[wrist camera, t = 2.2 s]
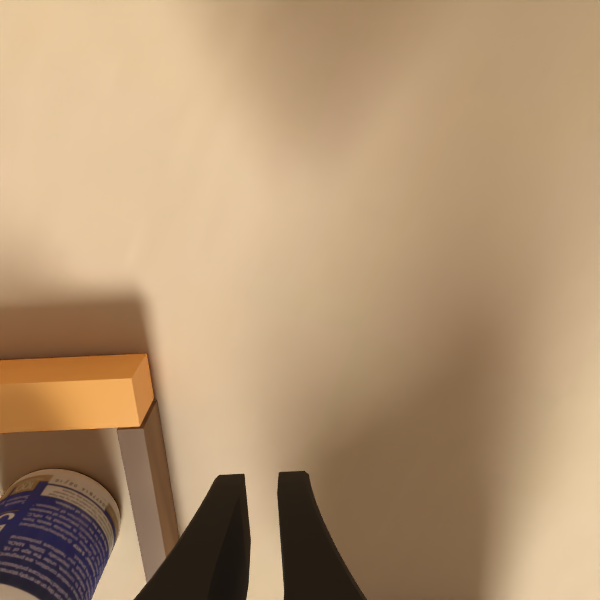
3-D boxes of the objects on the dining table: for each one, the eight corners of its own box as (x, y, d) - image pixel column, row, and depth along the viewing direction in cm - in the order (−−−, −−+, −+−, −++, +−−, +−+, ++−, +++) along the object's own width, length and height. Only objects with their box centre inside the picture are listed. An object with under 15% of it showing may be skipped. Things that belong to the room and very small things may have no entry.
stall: (156, 400, 20) (143, 428, 18) (183, 566, 23) (174, 605, 22) (-85, 411, 20) (-124, 440, 18) (-27, 577, 23) (-55, 616, 21)
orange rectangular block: (146, 353, 19) (131, 378, 17) (153, 398, 20) (139, 426, 18) (-109, 365, 19) (-152, 391, 17) (-93, 409, 20) (-133, 439, 18)
